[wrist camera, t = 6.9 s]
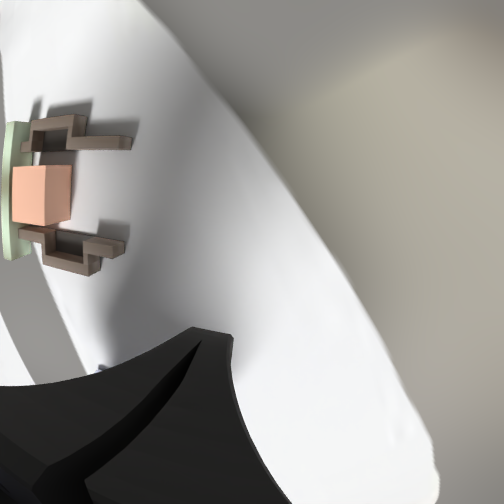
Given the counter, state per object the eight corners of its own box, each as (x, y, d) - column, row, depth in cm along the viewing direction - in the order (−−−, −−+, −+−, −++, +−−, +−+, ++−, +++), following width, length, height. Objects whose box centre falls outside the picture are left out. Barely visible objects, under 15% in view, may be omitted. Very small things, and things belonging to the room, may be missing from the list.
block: (71, 219, 19) (44, 226, 16) (38, 215, 20) (12, 221, 17) (73, 164, 18) (45, 165, 15) (39, 165, 19) (13, 167, 16)
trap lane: (124, 275, 19) (105, 287, 17) (23, 250, 20) (3, 258, 18) (135, 113, 17) (114, 106, 14) (27, 124, 18) (6, 122, 15)
